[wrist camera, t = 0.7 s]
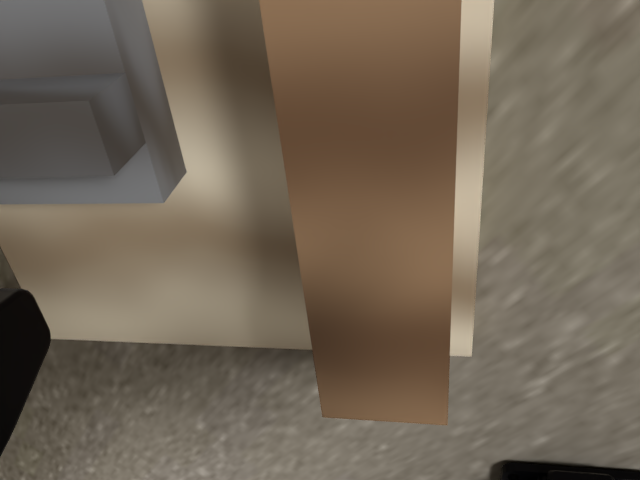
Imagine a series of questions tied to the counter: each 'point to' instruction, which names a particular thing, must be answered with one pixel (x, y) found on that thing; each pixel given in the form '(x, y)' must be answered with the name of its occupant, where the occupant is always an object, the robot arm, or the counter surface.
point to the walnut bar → (371, 193)
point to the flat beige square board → (177, 172)
